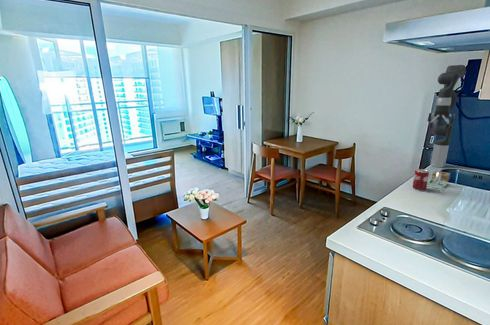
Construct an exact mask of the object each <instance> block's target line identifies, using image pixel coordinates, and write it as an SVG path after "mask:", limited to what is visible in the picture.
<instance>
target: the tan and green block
mask: <svg viewBox="0 0 490 325" xmlns="http://www.w3.org/2000/svg"><path fill="white" fill-rule="evenodd" d="M437 171H438V170H434V172H432V175H431V177H430V179H435V178H436V173H437ZM441 172H442V174H441V179H440V180H441V181H446V182H448V183H449V181H450V180H451V178H450V177H451V172H446V171H441Z"/></svg>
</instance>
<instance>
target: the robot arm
mask: <svg viewBox="0 0 490 325" xmlns="http://www.w3.org/2000/svg"><path fill="white" fill-rule="evenodd" d="M466 71H467V68H466V65H464V64H457V65H456V64H453V65H448V66H447V68H446V70H445V72H442V73H441V74H440V75H438V78H437V82H438V84H439V85H443V88H440V90H439V91H438V95H437V96H438V97H437V101H436V105H435V111H434V112H429V114H428V115H427V116H428V117H427V122H429V128H430V129H433V128H434V130H433V133H434V135H435V136H439V137H440V136H441V137H443V138H439V139H436V140H434V143H433V148H432V153H431V158H430V166H431V167H435V168H446V162H447V158H448V157H447V156H448V152H449V146H450V141H451V136H452V133H453V128H454V126H453V123H455V116H456V114H455V113H451V112H452V110H453V109H454V108H455V106H456V104H457V98H458V97H457V94H456V92H455V90H454V88H455V86H456V85H457V82H458V81H459V80H460V79H461V78H463V77H464V76H465V74H466ZM433 116H434V118H432V117H433ZM448 117H449V118H450V120H449V118H448ZM443 121H445V122H446V123H443ZM434 122H435V126H434Z"/></svg>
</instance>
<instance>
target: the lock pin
mask: <svg viewBox="0 0 490 325" xmlns="http://www.w3.org/2000/svg"><path fill="white" fill-rule="evenodd" d="M436 171H437V173H436V178H435V182H434V183H433V184H438V185H441V183H440V179H441V174H442V172H443V171H441V170H440V171H439V170H436Z"/></svg>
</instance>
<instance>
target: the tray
mask: <svg viewBox="0 0 490 325" xmlns="http://www.w3.org/2000/svg"><path fill="white" fill-rule="evenodd" d="M433 182H434V183H435V179H431V178H430V179H428V182H427V188H429V187H430V188H433V189H435V188H436V189H438V190H442V191H443V190H444V188H445V187H447V185H448V183H449V181H448V182H446V181H441V180H440V184H439V185H438V184H434V183H433ZM441 184H443V185H441Z"/></svg>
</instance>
